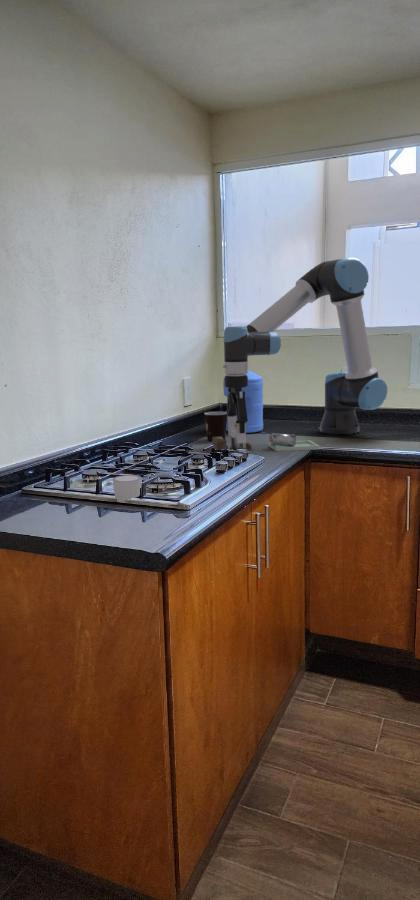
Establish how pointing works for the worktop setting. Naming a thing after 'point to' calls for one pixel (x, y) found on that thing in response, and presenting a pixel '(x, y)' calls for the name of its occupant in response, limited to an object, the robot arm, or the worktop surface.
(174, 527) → the worktop surface
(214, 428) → the coffee mug
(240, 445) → the cell
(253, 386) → the water jug
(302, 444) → the pale green tray
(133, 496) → the light grey cup
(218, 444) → the brown wooden stand
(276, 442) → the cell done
